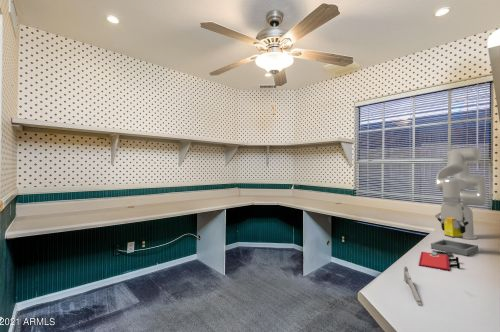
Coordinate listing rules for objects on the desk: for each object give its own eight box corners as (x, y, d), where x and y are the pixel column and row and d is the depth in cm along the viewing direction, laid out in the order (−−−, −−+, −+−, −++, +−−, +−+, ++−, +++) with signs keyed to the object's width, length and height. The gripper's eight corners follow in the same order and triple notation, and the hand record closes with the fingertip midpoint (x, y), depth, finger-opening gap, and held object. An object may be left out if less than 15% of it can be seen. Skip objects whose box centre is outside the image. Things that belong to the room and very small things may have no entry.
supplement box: (453, 235, 139) (453, 216, 140) (463, 238, 133) (462, 218, 134) (444, 235, 139) (443, 216, 139) (453, 238, 133) (452, 218, 133)
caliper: (404, 280, 98) (403, 265, 98) (407, 281, 97) (406, 265, 98) (418, 306, 79) (417, 286, 79) (422, 306, 78) (421, 287, 79)
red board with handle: (457, 255, 127) (422, 250, 136) (456, 249, 127) (422, 245, 136) (461, 274, 104) (418, 267, 113) (460, 268, 104) (418, 261, 113)
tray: (443, 244, 147) (443, 239, 147) (478, 251, 133) (477, 245, 133) (431, 248, 139) (430, 243, 139) (466, 256, 125) (466, 250, 125)
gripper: (474, 201, 131) (475, 233, 131) (436, 199, 146) (438, 228, 145) (468, 202, 128) (470, 235, 127) (431, 199, 143) (432, 229, 142)
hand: (453, 231), depth 136 cm, fingers closed on supplement box, 7 cm apart
